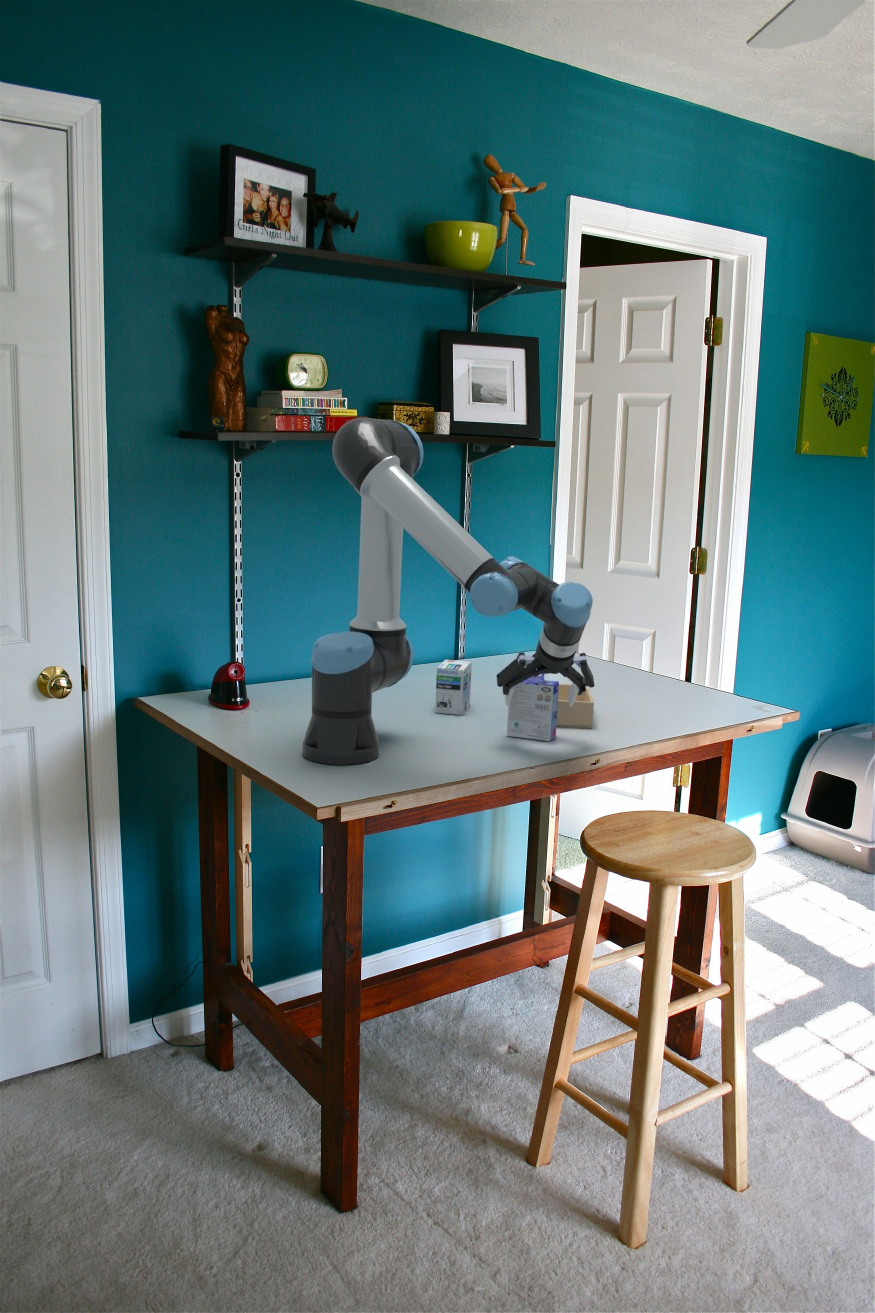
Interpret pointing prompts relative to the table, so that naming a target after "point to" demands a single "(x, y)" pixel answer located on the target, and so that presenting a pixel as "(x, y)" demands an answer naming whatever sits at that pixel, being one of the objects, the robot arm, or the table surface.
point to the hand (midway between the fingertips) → (538, 700)
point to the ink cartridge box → (534, 709)
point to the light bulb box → (453, 687)
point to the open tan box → (574, 709)
